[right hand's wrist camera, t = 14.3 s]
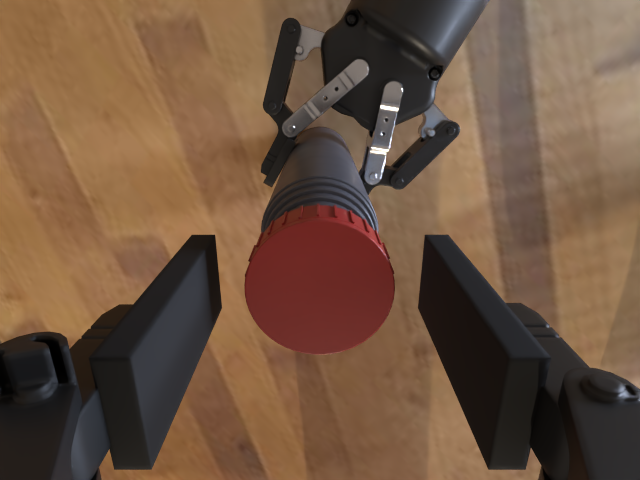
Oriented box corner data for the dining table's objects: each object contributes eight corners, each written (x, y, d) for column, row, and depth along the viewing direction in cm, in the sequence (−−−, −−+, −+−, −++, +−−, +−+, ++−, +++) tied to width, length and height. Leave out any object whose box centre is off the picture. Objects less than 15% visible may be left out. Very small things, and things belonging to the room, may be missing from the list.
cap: (356, 179, 13) (361, 192, 12) (408, 298, 15) (418, 325, 13) (226, 236, 14) (214, 256, 12) (288, 345, 15) (284, 375, 14)
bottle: (345, 186, 37) (387, 355, 14) (289, 182, 37) (240, 345, 14) (351, 129, 36) (409, 215, 12) (292, 124, 35) (242, 203, 12)
